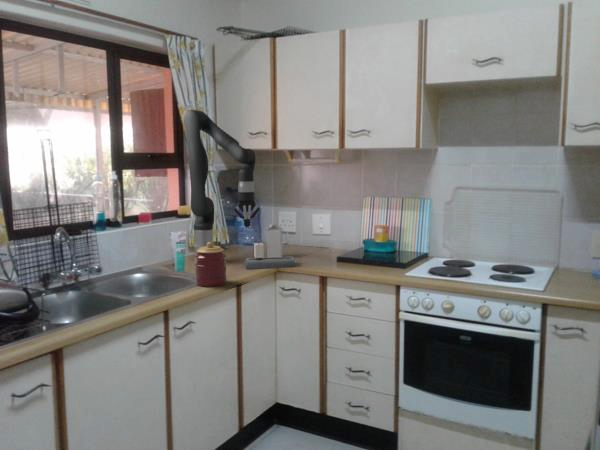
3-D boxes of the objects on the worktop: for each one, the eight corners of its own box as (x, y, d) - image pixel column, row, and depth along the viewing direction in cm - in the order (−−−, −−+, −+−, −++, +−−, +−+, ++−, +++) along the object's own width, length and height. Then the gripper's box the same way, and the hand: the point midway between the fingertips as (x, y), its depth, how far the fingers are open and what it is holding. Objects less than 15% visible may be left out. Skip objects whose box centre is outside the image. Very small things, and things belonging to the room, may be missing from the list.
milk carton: (282, 256, 280) (282, 221, 278) (280, 258, 273) (280, 222, 270) (269, 256, 281) (269, 221, 278) (267, 258, 274) (266, 222, 271)
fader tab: (255, 262, 251) (255, 244, 250) (254, 260, 256) (254, 242, 255) (263, 262, 252) (263, 244, 251) (262, 260, 257) (262, 242, 256)
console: (246, 269, 247) (245, 262, 247) (243, 264, 259) (243, 257, 258) (295, 267, 252) (295, 259, 251) (291, 262, 263) (291, 255, 263)
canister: (212, 288, 210) (211, 245, 208) (188, 284, 217) (187, 242, 215) (233, 282, 221) (232, 240, 219) (209, 278, 228) (208, 238, 226)
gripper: (232, 191, 244) (233, 228, 246) (261, 191, 246) (261, 227, 248) (231, 190, 251) (232, 226, 253) (259, 190, 253) (259, 225, 256)
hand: (247, 227), depth 251 cm, fingers closed
